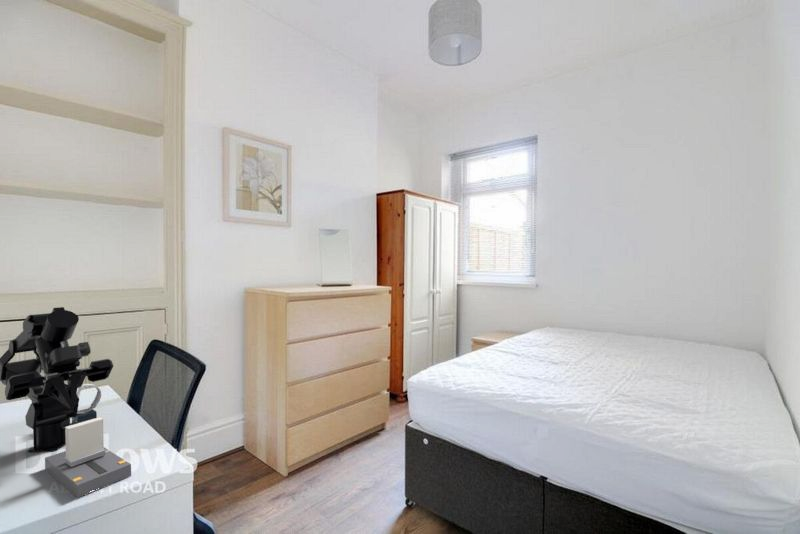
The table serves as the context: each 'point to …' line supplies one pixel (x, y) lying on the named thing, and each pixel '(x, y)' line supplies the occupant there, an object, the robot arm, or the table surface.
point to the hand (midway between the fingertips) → (72, 407)
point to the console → (88, 472)
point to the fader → (84, 441)
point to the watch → (88, 413)
